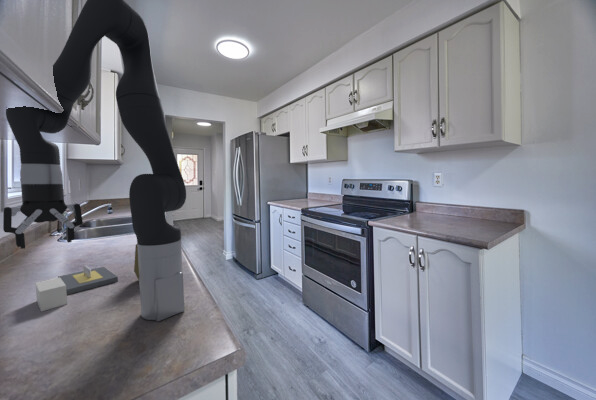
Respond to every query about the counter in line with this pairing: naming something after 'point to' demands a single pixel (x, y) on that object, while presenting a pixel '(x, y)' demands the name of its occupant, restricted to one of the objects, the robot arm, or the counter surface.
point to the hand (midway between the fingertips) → (47, 244)
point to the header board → (88, 279)
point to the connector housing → (51, 293)
